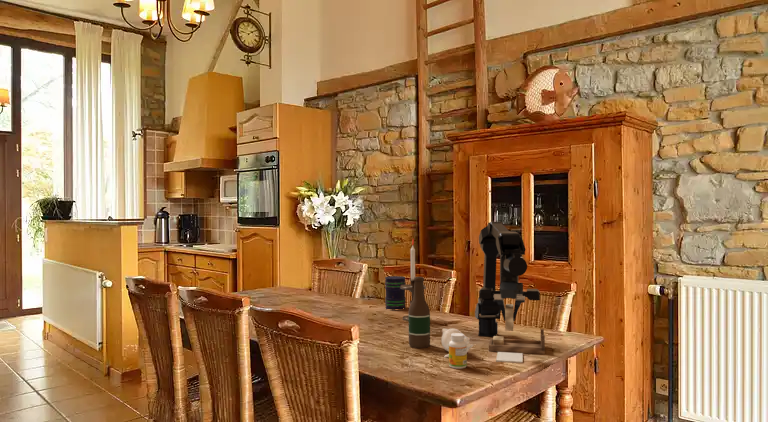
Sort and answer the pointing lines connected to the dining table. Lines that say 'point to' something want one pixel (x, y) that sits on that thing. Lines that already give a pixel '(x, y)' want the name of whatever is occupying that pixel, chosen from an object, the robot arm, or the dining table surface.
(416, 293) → the beer bottle
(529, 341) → the rack
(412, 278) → the candlestick
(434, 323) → the dining table surface
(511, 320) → the birch sheet
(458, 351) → the supplement bottle
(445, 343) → the cat figurine
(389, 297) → the storage jar
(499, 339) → the offcut stack
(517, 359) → the felt pad
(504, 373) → the dining table surface
